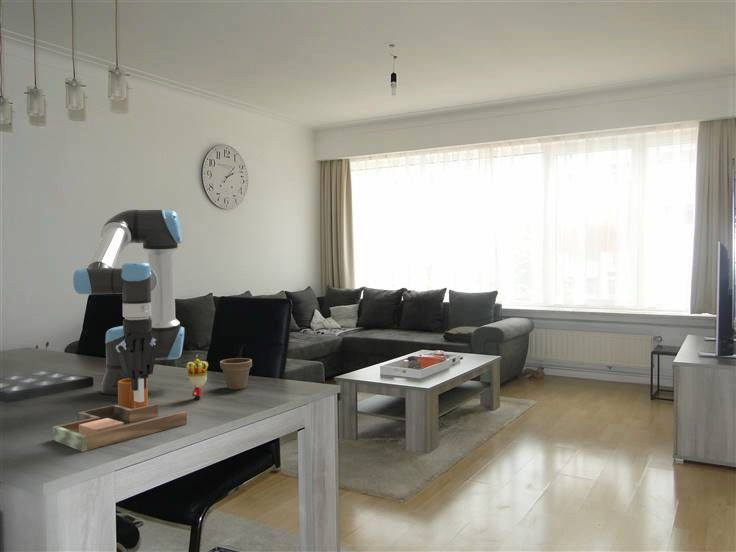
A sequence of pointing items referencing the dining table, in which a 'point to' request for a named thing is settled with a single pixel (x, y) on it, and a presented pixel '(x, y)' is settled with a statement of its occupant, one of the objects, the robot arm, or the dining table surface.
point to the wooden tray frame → (72, 438)
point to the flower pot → (236, 372)
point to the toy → (197, 376)
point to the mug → (130, 395)
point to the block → (99, 426)
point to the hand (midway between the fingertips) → (139, 401)
